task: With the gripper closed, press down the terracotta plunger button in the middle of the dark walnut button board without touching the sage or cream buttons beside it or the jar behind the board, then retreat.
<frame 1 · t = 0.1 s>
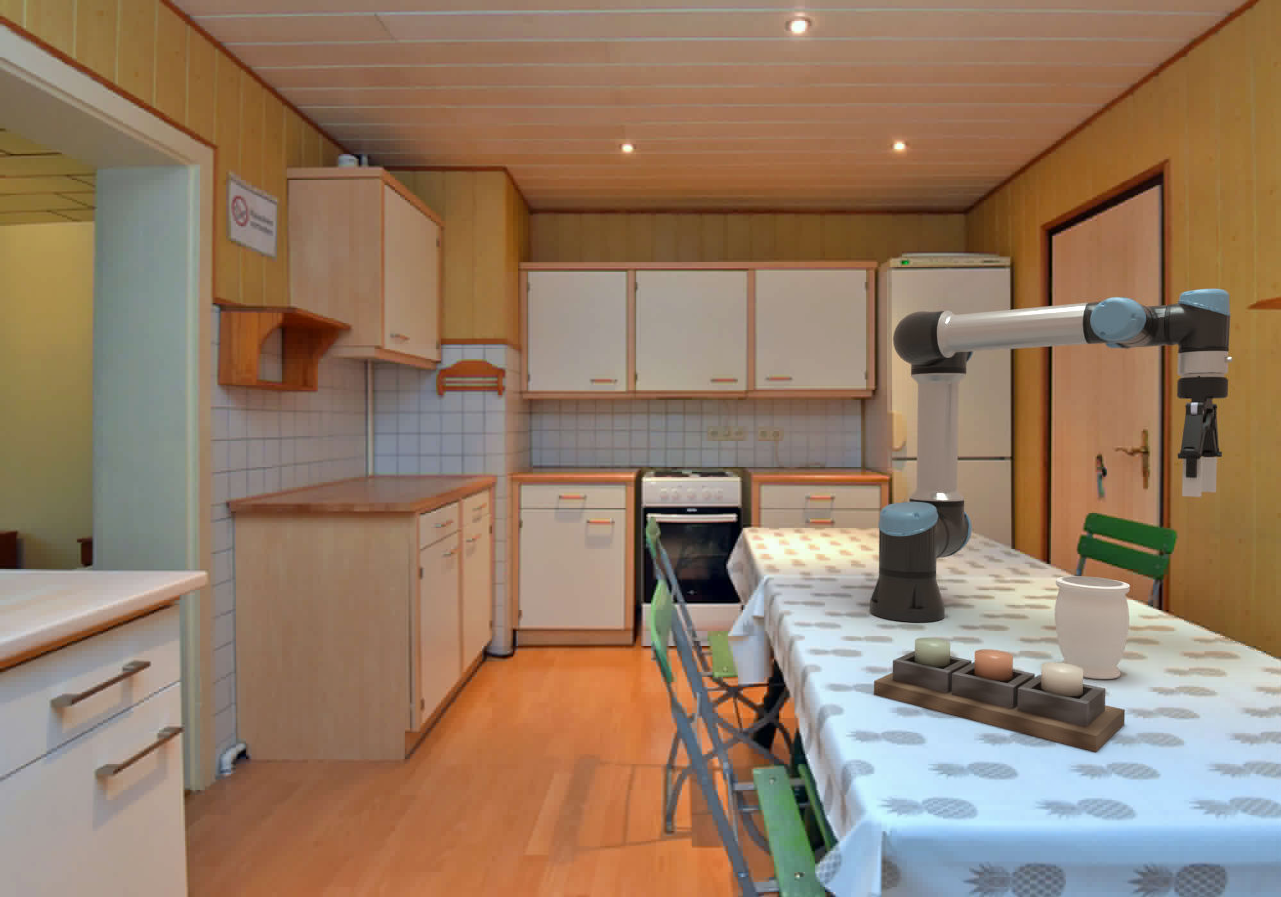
hand: (1199, 494, 145), 28 cm above the table, fingers open, 13 cm apart
button terracotta: (993, 664, 114), point 6 cm above the table, slide at 0.0 cm
jar: (1090, 673, 131), on the table
button cream: (1061, 679, 108), point 6 cm above the table, slide at 0.0 cm
button sage: (932, 651, 121), point 6 cm above the table, slide at 0.0 cm
button board: (992, 708, 114), on the table
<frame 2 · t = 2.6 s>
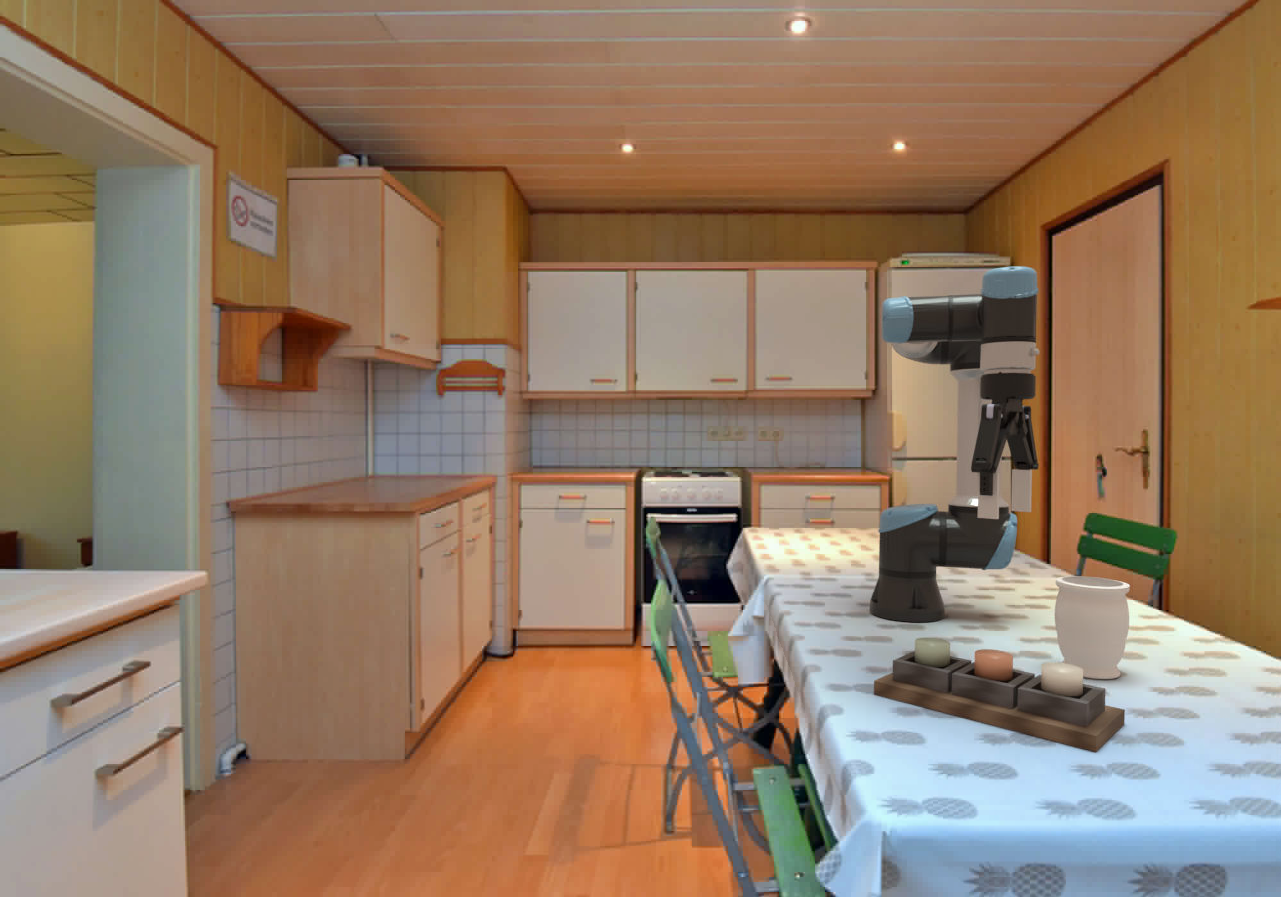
hand: (1005, 515, 120), 27 cm above the table, fingers open, 13 cm apart
nothing on the table moved.
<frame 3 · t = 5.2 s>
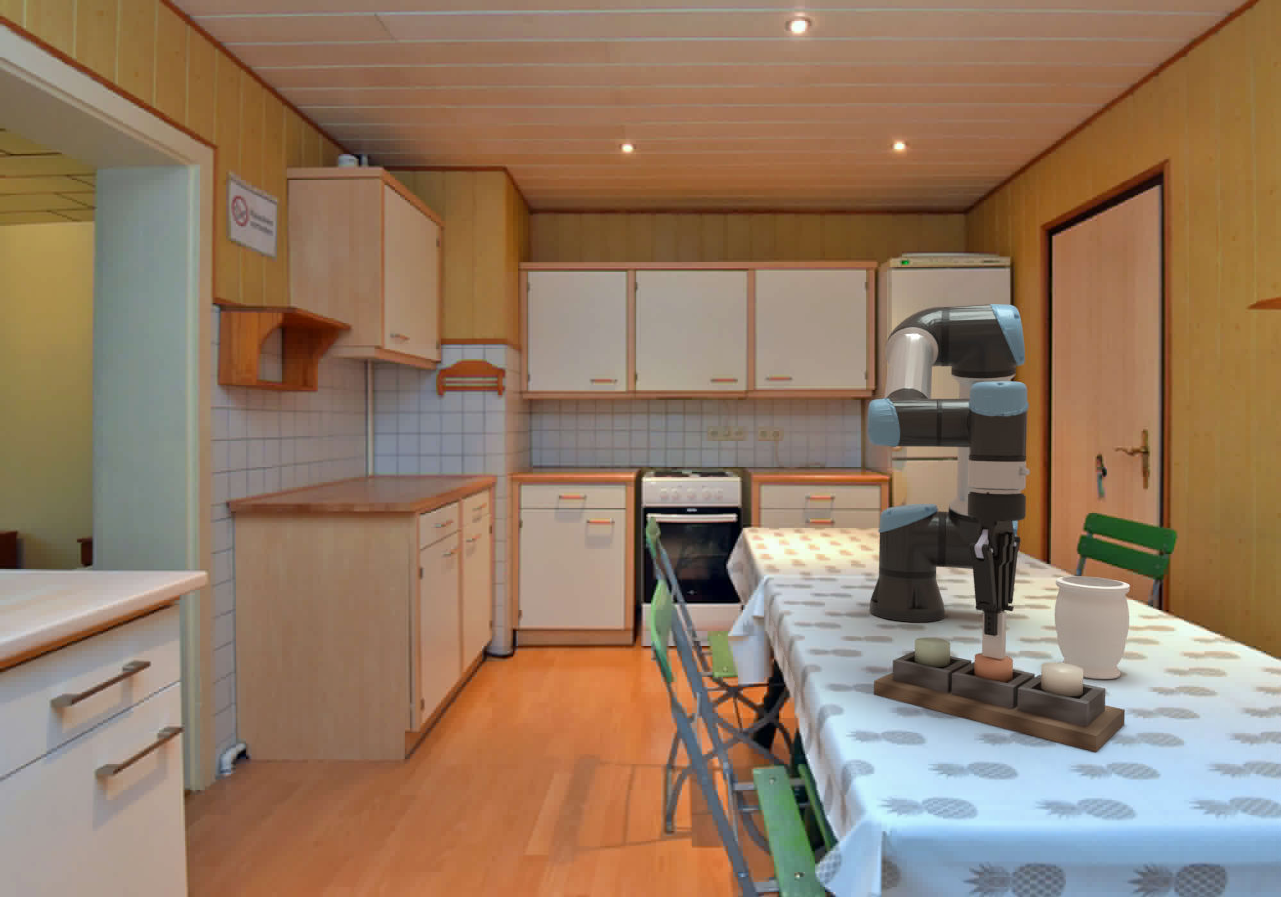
hand: (993, 656, 114), 8 cm above the table, fingers closed
button terracotta: (993, 668, 114), point 6 cm above the table, slide at 0.5 cm, touching gripper
everything else where it was.
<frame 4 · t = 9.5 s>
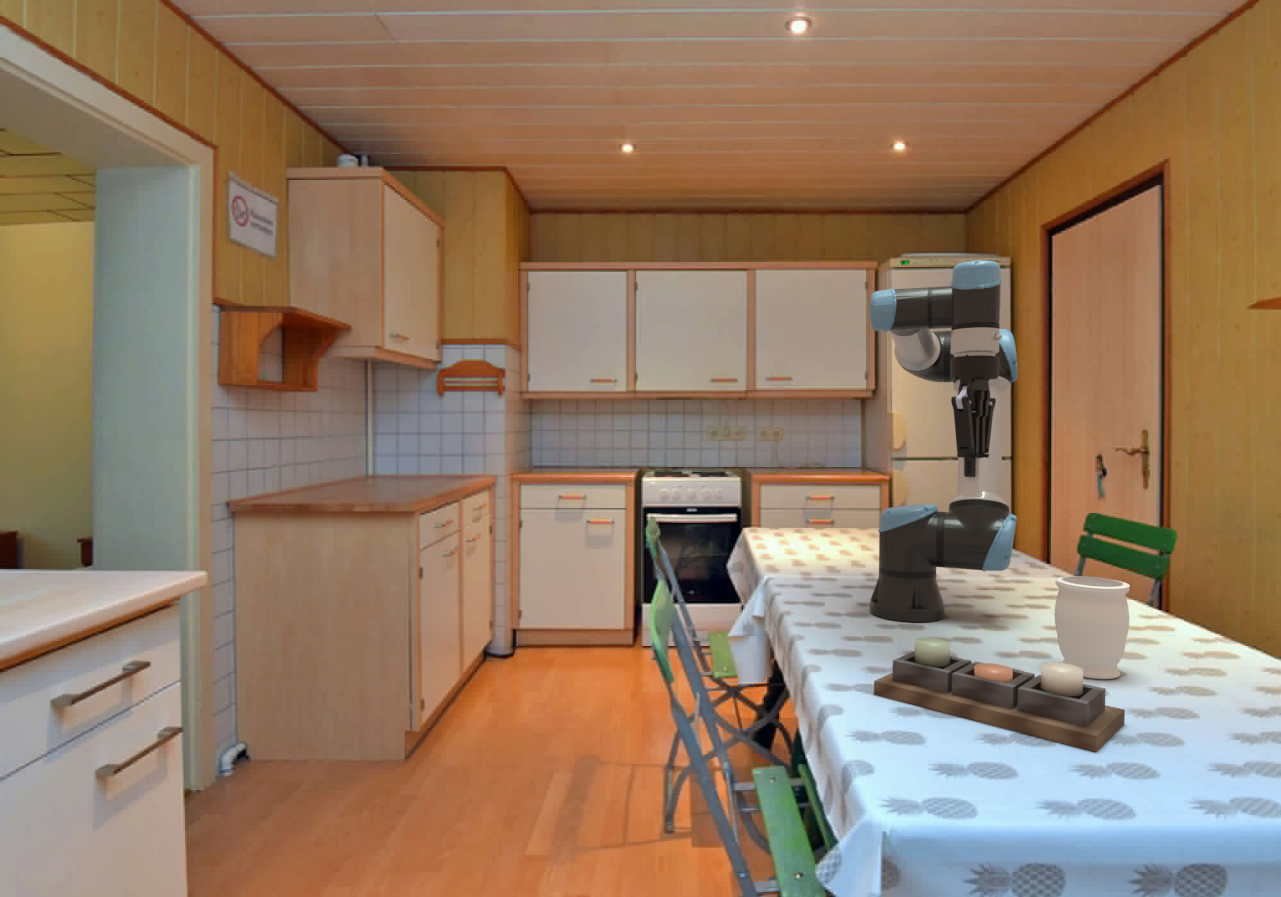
hand: (972, 496, 135), 28 cm above the table, fingers closed
button terracotta: (993, 678, 114), point 4 cm above the table, slide at 2.0 cm
everything else where it was.
at the end: button terracotta slide at 2.0 cm; button sage slide at 0.0 cm; button cream slide at 0.0 cm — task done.
